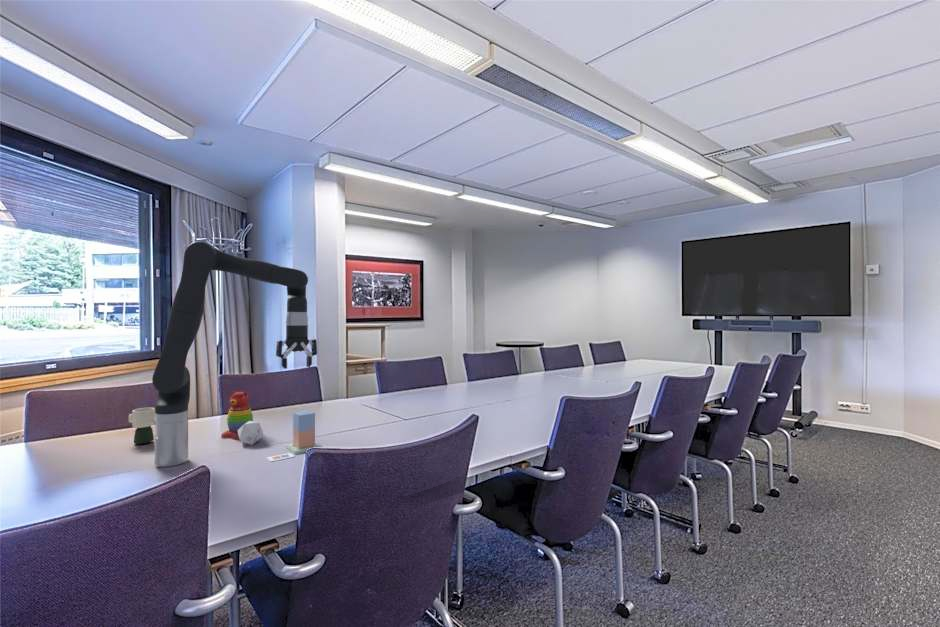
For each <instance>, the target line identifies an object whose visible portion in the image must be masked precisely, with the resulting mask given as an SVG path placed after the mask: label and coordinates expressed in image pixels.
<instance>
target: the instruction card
mask: <svg viewBox="0 0 940 627" xmlns="http://www.w3.org/2000/svg"><path fill="white" fill-rule="evenodd" d="M295 457H296V456H295V454H292V452H287V453H283V454H277V455H272V456H267V457H266V459H267V460H268V461H269V462H270V463H272V462H277V461H282V460H286V459H287V460H288V459H291V458H292V459H293V458H295Z"/></svg>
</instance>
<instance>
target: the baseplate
mask: <svg viewBox="0 0 940 627" xmlns="http://www.w3.org/2000/svg"><path fill="white" fill-rule="evenodd" d="M313 447H322V448H323V445H321V444H320V443H318V442H317V441H315V445H314V446H309V447H304V448H297V447H296V446H295V445H293V443H289V444H285V448H286V449H288V450H289V451H290V453H293V455H298V454H302V453H307V452H306V451H307V449H309V448H313Z"/></svg>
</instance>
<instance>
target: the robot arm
mask: <svg viewBox="0 0 940 627" xmlns="http://www.w3.org/2000/svg"><path fill="white" fill-rule="evenodd" d="M183 254H184V255H183V263H182V264H183V265H182V270H181V276H180V282H179V284H178V287H177V290H176V293H175V295H174V298H173V302H172V304H171V309H170V312H169V316H168V319H167V326H166V330H165V334H164V339H163V346H162V349H161V350H162V351H161V353H160V356H159V359H158V361H157V364H156V366H155V369H154V371H153V374H152V378H151V379H152V380H151V382H152V385H153V387H154V389H155V390H156V391H157V392H158V395H157V401H156V403H155V406H154V408H155V423H154V425H155V426H154V427H155V431H154V432H155V433H154V465H155V467H156V468H161V467H164V468H165V467H173V466H178V465H181V464H184V463H187V462H188V461H189V403H190V398H191V374H190V371H189V369H188V367H187V366H186V363H187V357H188V353H189V351H190V349H191V346H192V345H193V342H194V341H195V339H196V337H197V335H198V332H199V330H200V327H201V322H202V319H203V315H204V311H205V310H204V309H205V302H206V285H207V282H208V279H209V276H210V273H211V271H216V272H218V271H219V272H226V273H231V274H234V275H239V276H242V277H246V278H249V279H252V280H255V281H259V282H264V283H268V284H272V285H279V286H280V285H281V286H283V287H286V295H287V299H286V301H287V302H286V316H285V317H286V318H285V319H286V320H285V330H286V331H285V336H286V337H285V340H279V339H278V340H277V341H276V349H275V350H276V353H275V356H276V357H277V358H281V367H282V368H283V369H288V358H287V357H288V356H289V355H290V354H291V353H292V352H293V353H294V352H295V353H296V352H304V354H305V355H306V367H307V368H311V366H312V364H313V357H314V356H317V355H318V346H317V339H315V338H312V339H309V338H308V336H309V334H308V333H309V323H308V321H309V316H308V300H307V296H306V295H307V285H308V282H309V277H308V274H306V272H304V270H303V271H302V270H300V269H295V268H291V267H287V266H281V265H277V264H274V263H270V262H268V261H263V260H258V259H253V258H247V257H242V256H237V255H232V254H230V253H227V252H223V251H222V250H219V249H216V248H214V247H213V246H212V245H211V244H209V243H207V242H205V241H199V240H198V241H194V242H192V243H190V244H189V245H187V247H186V248H185V250H184V253H183ZM308 344H309V345H310V346H311V351H310V349H309V348H308V347H307V346H308ZM284 346H286V348H285V350H284V351H283V347H284ZM282 351H283V352H282Z"/></svg>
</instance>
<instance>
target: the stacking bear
mask: <svg viewBox="0 0 940 627" xmlns="http://www.w3.org/2000/svg"><path fill="white" fill-rule="evenodd" d="M249 398H250V397H249V394H248V392H246V391H233V392H232V395H231V396H230V398H229V404H230V408H229V410H228V413H227V418H226V421H227V422H226V424H227V427H228V430H226V431H224V432H222V433H221V438H223V439H227V438H228V439H234V440H240V439H239V435H238V431H237V430H238V429H239V428H241V427H242V426H243V425H244V424H245V423H247V422H248V421H253V422H254V415H253V411H252V409H251V407H250V405H248V403H249Z"/></svg>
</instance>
